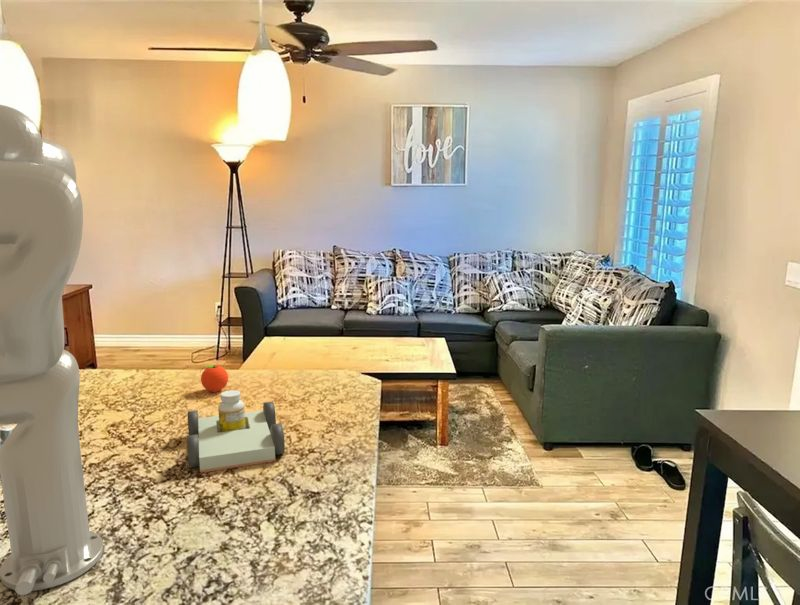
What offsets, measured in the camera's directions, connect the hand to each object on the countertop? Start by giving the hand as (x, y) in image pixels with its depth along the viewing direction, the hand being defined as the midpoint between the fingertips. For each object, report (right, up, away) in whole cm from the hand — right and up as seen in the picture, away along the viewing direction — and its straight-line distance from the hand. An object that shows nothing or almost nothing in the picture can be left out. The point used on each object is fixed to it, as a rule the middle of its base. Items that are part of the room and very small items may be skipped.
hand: (30, 331), depth 98 cm
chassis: (+29, -25, +21) cm, 44 cm away
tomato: (+14, -19, +53) cm, 58 cm away
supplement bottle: (+28, -24, +24) cm, 44 cm away
